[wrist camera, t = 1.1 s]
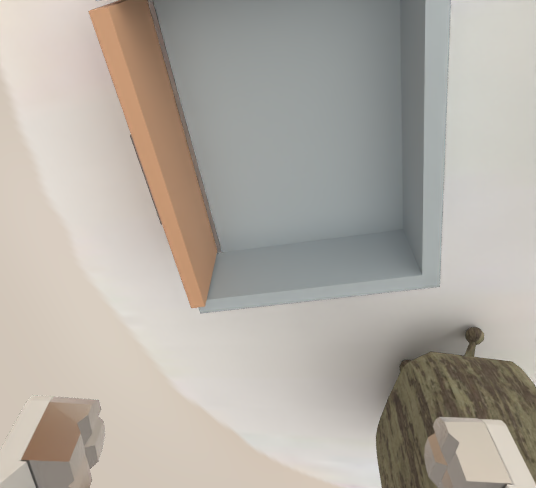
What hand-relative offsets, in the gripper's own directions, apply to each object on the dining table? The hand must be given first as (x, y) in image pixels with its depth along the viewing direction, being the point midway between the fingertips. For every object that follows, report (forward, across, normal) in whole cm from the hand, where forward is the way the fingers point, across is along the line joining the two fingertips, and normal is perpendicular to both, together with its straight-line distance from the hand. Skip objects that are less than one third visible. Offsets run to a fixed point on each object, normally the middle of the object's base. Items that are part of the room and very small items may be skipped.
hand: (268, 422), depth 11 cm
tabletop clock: (+26, -17, +24) cm, 40 cm away
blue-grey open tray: (+26, -2, 0) cm, 26 cm away
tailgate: (+25, +6, +2) cm, 26 cm away
